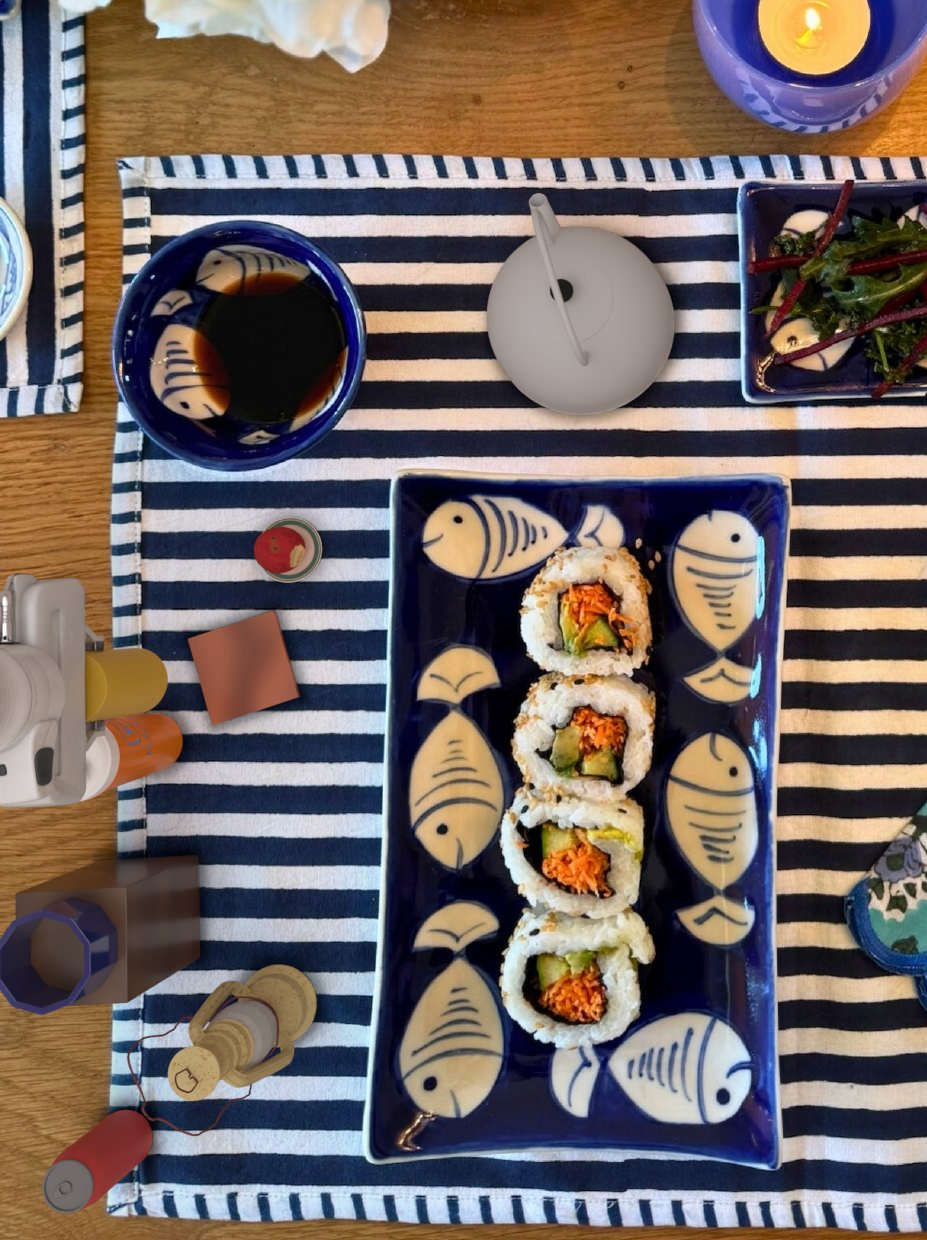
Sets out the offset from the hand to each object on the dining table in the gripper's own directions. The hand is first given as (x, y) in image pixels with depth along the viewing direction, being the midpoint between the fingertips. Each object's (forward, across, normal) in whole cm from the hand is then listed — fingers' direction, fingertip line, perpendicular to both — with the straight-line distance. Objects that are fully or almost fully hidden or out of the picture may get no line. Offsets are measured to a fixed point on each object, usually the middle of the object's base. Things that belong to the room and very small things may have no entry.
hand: (97, 685), depth 111 cm
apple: (+32, -14, +6) cm, 35 cm away
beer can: (+32, +54, -15) cm, 64 cm away
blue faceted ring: (+15, +28, -12) cm, 34 cm away
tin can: (+7, 0, 0) cm, 7 cm away
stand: (+31, +28, -12) cm, 44 cm away
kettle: (+32, -41, +43) cm, 67 cm away
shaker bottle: (+32, +8, -11) cm, 35 cm away
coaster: (+32, 0, 0) cm, 32 cm away
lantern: (+32, +40, +3) cm, 51 cm away
